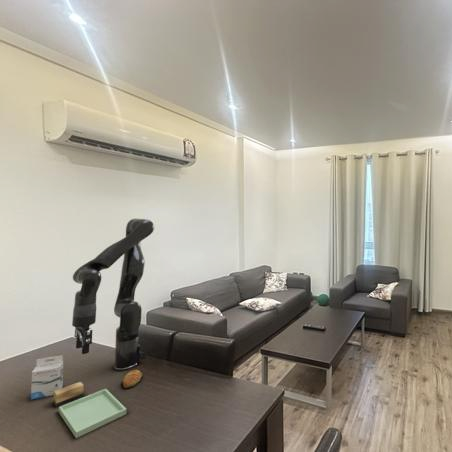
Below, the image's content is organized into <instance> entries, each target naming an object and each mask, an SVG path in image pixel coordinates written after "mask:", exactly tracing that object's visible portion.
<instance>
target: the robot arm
mask: <svg viewBox="0 0 452 452" xmlns="http://www.w3.org/2000/svg"><path fill="white" fill-rule="evenodd" d="M154 230H155V224H154V222H153V221H151V220H150V219H146V218H132V219H130V220H128V222H127V224H126V226H125V237H122V238H121V239H120V240H118V241H116V242H114V243H111V244H110V245H109V246H107V247H106V248H105V249H103V250H102V251H101V252H100V253H99V254H98V255H97V256H96V257H95V258H93V259H91V260H89V261H88V262H86V263H84V264H83V265H81V266H80V267H78V268H77V269H76V270H75V271H74V272H73V274H72V280H73V282H75V283H76V284H80V285H81V288H80V289H79V290H78V291H76V292H75V295H74V305H73V309H72V320H71V322H72V327H74V336H73V337H74V338H75V341H76V342H75V348H76V349H81V354H82V355H87V354H89V352H90V345H92V343H93V329H92V328H90V326H92V325H94V324H96V319H97V294H98V291H99V288H100V286H101V282H102V273H101V272H100V271H103V270H107V269H109V268H110V267H112V266H113V265H114V264H115V263H116V262H117V261H118V260H119V259H120V258H121V257H123V261H122V265H121V271H120V280H119V286H118V291H117V292H118V293H117V296H116V300H115V303H114V306H113V313H114V315H115V317H117V318H119V326H117V328H116V329H115V347H114V348H115V350H114V352H115V353H114V370H116V371H126V370H129V369H132V368H135V367H137V365H139V364H140V360H141V359H142V357H145V356H146V355H145V352H142V351H141V344H139V336H140V335H139V334H140V333H139V331H140V326H141V324H142V323H141V322H142V310H143V309H142V305H141V303H140V302H137V301H135V295H136V289H137V286H138V285H139V283H140V282H141V280H142V278H143V275H144V271H145V263H146V261H145V256H144V253H143V251H142V247H141V244H142V243H141V242H142V241H143V240H145V239H146V238H148V237H149V236H150V235H152V234H153V232H154Z"/></svg>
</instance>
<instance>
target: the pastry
mask: <svg viewBox="0 0 452 452" xmlns="http://www.w3.org/2000/svg"><path fill="white" fill-rule="evenodd" d="M142 376H143V373H142V372H141V371H140V370H138V369H133V370H131V371H128V372H127V373H126V375H125V376H124V377H123V379H122V385H123V388H124V389H126V388H131V387H135V386H136V385H137V384H138V383H139V381H140V380H141V378H142Z"/></svg>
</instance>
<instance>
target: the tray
mask: <svg viewBox="0 0 452 452" xmlns="http://www.w3.org/2000/svg"><path fill="white" fill-rule="evenodd" d="M58 414H59V415H60V416H61V418H62V419H63V421H64V423H65V424H66V426H67V427H68V429H69V430H70V432H71V433H72V435H73V436H74V438H75V439H77V438H78V439H79V437H81V436H85V435H86V434H88V433H90V432H92V431H94V430H96V429H99V428H100V427H102V426H105V425H107V424H108V423H111V422H113V421H115V420H117V419H119V418H121V417H123V416H125V415H127V407H125V405H123V403H121V402H120V401H119V400H118V399H117V398H116V397H115V396H114V395H113V394H112V393H111V392H110V390H108V388H104V389H101V390H98V391H96V392H93V393H91V394H89V395H86V396H83V397H81V398H79V399H76V400H74V401H71V402H69V403H66V404H63V405H61V406H58Z"/></svg>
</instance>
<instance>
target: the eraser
mask: <svg viewBox="0 0 452 452" xmlns="http://www.w3.org/2000/svg"><path fill="white" fill-rule="evenodd" d="M84 386H85V385H84V384H83V382H82V381H78V382H76V383H73V384H70V385H67V386H64V387H62V388H61V389H58V390H56V391H54V395H53V405H54V406H55V408H59V407H60V406H63V405H65V404H68V403H70V402H73V401H76V400H78V399H81V398H83V397H84V390H85V389H84Z"/></svg>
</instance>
